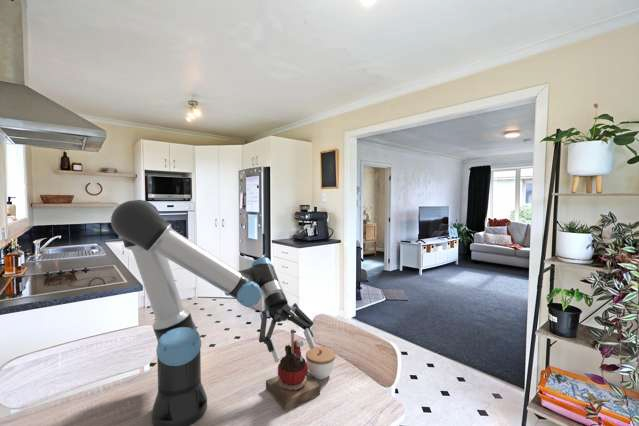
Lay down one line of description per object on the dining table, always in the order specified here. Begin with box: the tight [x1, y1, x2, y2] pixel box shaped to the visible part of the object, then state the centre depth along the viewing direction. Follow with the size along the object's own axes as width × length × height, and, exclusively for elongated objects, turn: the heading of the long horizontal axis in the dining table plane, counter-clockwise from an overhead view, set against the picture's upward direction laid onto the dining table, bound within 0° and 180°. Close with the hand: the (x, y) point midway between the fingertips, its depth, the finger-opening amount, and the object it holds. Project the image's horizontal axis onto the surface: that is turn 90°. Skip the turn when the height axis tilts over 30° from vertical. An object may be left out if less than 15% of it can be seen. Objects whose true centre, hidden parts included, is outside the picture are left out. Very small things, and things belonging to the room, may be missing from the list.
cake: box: [277, 328, 309, 390], centre depth 99 cm, size 11×9×18 cm
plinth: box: [265, 373, 321, 412], centre depth 100 cm, size 13×13×3 cm
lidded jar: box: [305, 346, 336, 380], centre depth 110 cm, size 11×11×9 cm
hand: (296, 354), depth 97 cm, fingers open, 13 cm apart
